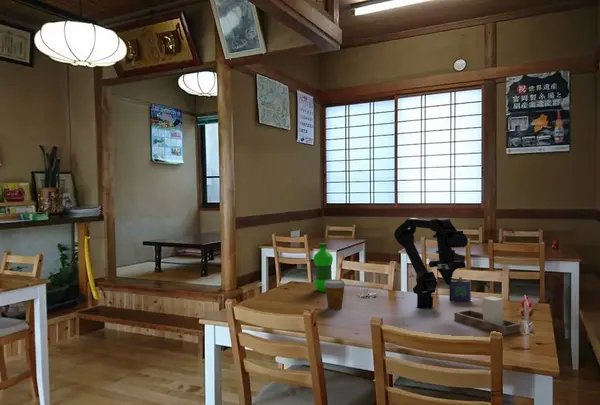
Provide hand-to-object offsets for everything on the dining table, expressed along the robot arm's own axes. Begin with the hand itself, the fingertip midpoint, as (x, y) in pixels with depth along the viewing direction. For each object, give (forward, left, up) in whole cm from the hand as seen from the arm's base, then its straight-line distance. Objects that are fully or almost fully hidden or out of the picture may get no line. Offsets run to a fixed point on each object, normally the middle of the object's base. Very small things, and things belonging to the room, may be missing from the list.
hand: (448, 284), depth 188 cm
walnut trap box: (+13, -13, -13) cm, 22 cm away
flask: (+6, +24, -13) cm, 28 cm away
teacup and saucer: (-37, +21, -13) cm, 45 cm away
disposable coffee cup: (-49, -1, -13) cm, 51 cm away
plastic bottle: (-62, +31, -13) cm, 71 cm away
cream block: (+15, -15, -11) cm, 25 cm away
